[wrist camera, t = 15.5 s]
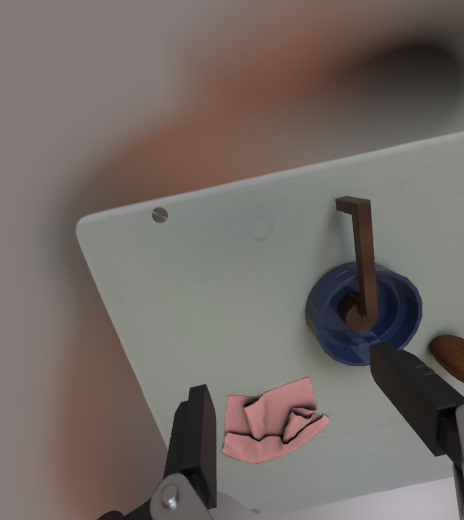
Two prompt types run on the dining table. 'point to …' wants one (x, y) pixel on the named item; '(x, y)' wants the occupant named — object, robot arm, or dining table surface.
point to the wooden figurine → (450, 354)
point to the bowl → (385, 329)
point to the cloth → (271, 422)
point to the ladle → (360, 267)
